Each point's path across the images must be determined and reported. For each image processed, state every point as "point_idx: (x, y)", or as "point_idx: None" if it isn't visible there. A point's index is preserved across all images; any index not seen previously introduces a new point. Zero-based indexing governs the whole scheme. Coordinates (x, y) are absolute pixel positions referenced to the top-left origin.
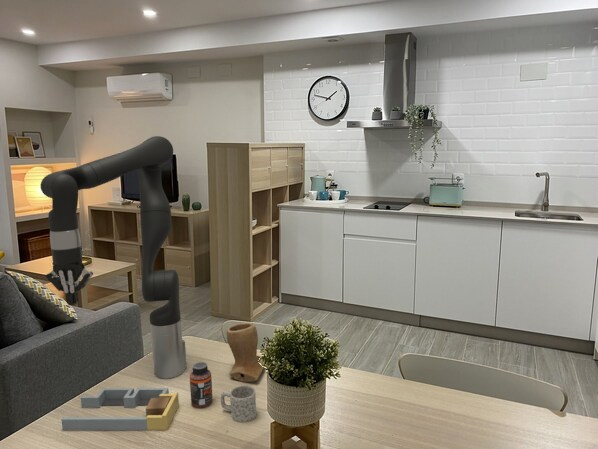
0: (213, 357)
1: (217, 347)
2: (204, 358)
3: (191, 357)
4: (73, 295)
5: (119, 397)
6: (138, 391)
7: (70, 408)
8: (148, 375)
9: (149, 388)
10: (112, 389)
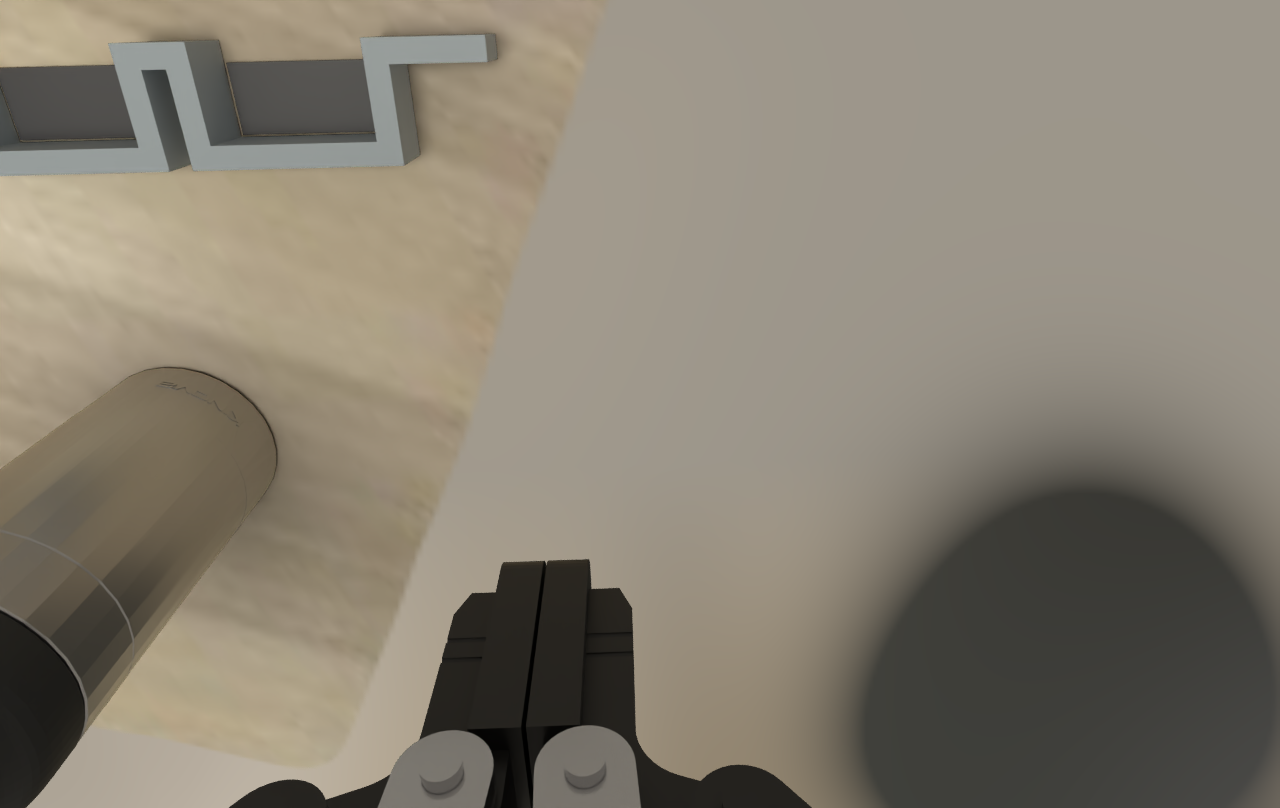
0: None
1: None
2: None
3: None
4: (470, 704)
5: (301, 137)
6: (135, 130)
7: (563, 24)
8: (292, 402)
9: (81, 167)
10: (326, 148)
